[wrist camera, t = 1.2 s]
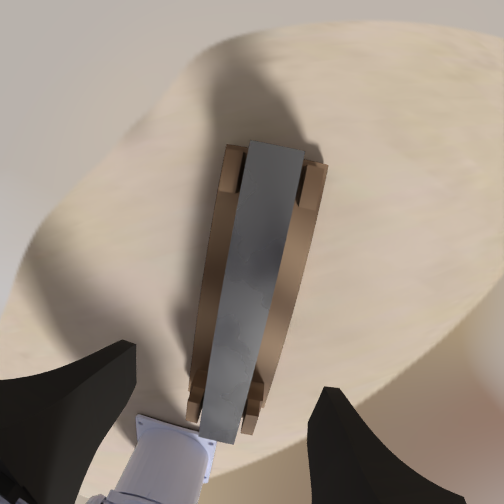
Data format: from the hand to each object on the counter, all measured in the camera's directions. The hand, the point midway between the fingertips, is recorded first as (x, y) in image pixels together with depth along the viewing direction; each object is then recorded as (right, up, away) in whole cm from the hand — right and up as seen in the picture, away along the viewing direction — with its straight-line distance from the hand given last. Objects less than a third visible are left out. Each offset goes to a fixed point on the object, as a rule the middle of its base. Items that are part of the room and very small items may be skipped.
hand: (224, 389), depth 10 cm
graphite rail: (+1, +2, +7) cm, 7 cm away
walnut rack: (+1, +2, +10) cm, 10 cm away
